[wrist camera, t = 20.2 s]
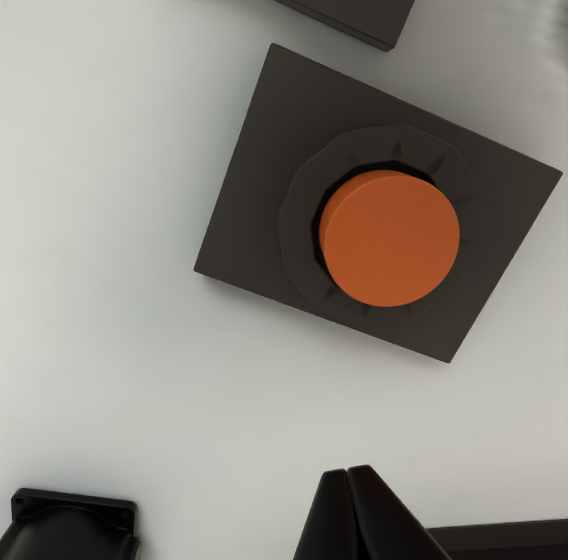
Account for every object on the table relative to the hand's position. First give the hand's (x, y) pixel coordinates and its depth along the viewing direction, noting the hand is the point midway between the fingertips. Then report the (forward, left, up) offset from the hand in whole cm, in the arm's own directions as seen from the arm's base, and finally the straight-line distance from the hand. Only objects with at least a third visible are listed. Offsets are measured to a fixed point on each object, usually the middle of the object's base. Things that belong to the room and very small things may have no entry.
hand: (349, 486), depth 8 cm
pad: (+2, +3, -12) cm, 13 cm away
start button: (+2, +3, -9) cm, 10 cm away
